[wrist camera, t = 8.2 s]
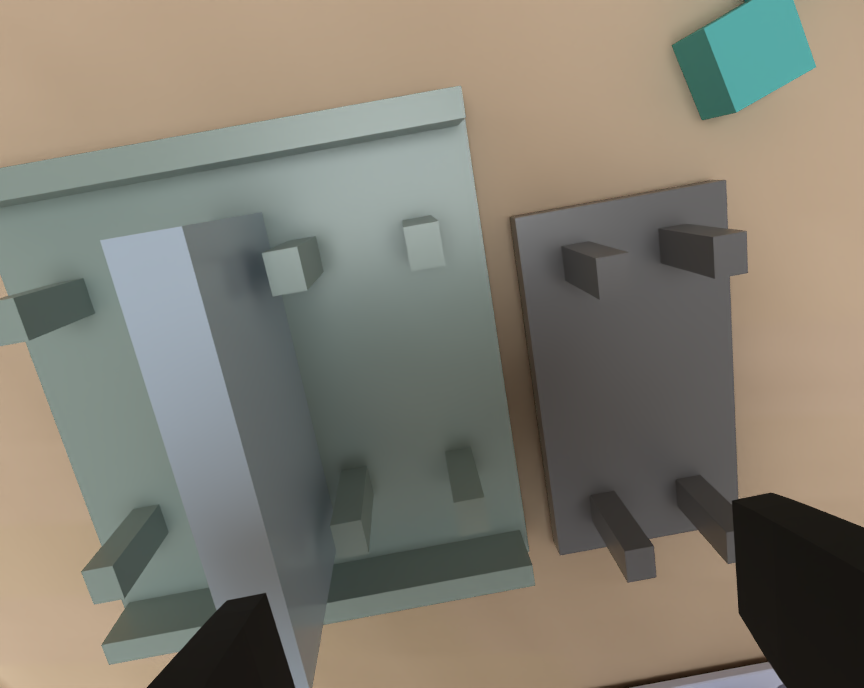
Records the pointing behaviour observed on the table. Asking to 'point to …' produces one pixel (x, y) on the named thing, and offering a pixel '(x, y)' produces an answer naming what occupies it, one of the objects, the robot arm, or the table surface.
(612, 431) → the stand
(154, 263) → the long pale grey plank
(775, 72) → the teal pixel shape
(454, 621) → the table surface
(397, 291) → the rack
